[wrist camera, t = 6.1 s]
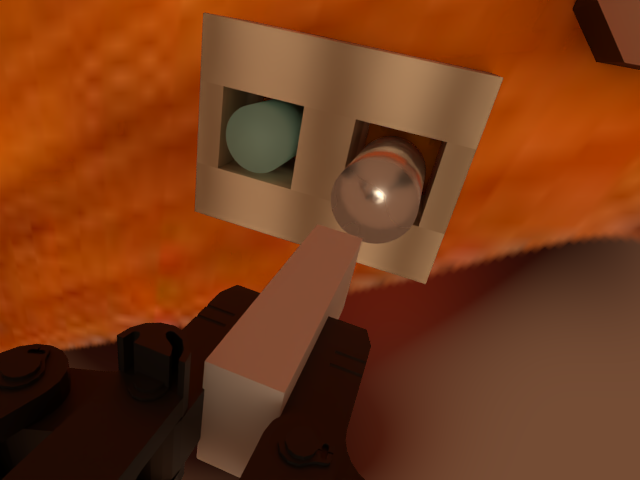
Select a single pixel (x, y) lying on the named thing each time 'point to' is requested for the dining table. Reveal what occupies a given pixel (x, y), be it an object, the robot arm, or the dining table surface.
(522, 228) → the dining table surface
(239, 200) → the socket block
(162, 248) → the dining table surface
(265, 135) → the teal peg
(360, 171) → the steel peg
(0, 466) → the robot arm
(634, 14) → the wine bottle
